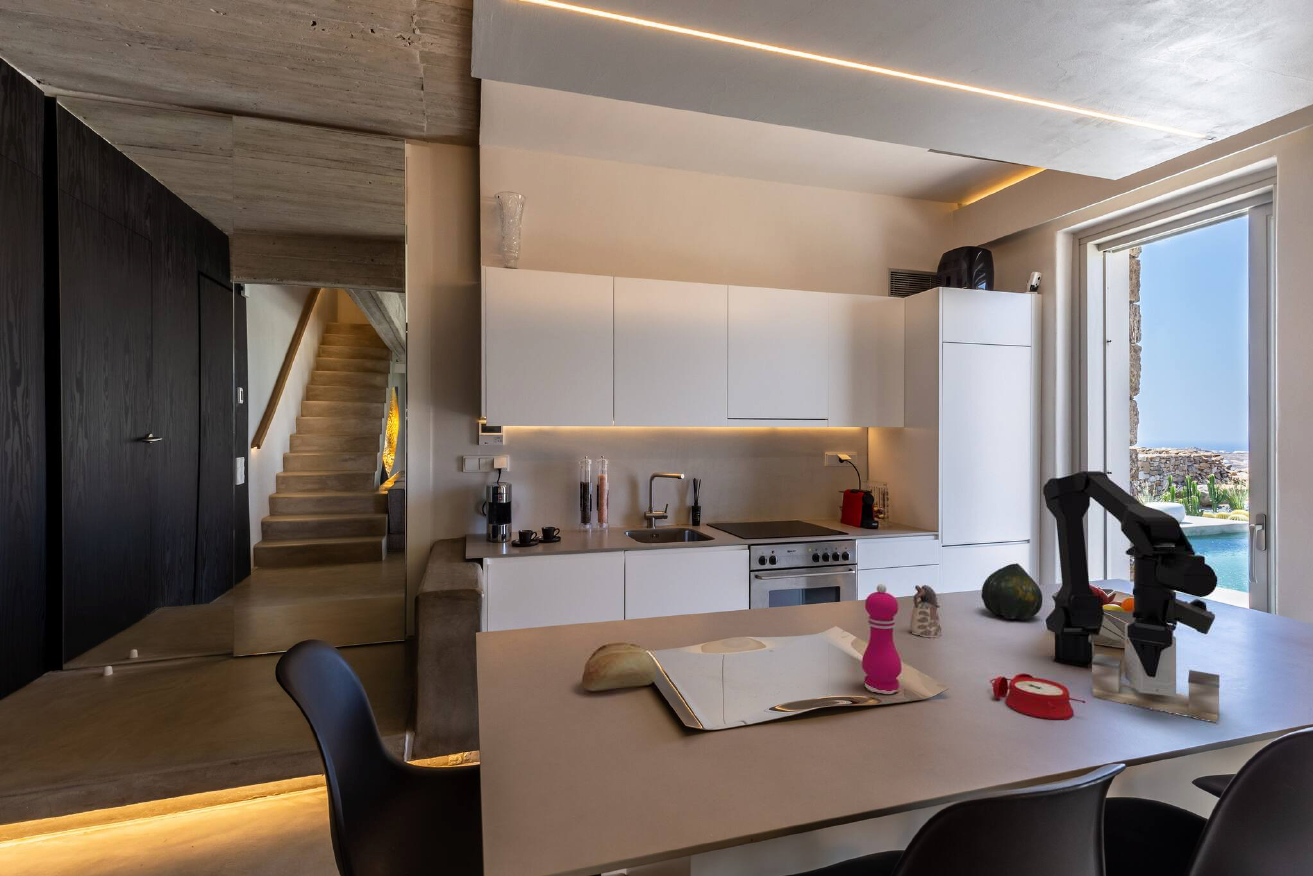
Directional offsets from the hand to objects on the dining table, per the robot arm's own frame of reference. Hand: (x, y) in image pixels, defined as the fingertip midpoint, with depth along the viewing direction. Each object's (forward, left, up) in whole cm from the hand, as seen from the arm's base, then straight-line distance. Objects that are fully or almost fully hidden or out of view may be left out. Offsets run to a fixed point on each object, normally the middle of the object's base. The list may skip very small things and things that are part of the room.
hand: (1153, 669), depth 119 cm
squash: (-34, +49, -6) cm, 60 cm away
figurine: (-46, +17, -6) cm, 49 cm away
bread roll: (-79, -58, -6) cm, 98 cm away
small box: (-1, 0, -4) cm, 4 cm away
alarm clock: (-17, -16, -6) cm, 24 cm away
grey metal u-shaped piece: (0, 0, -6) cm, 6 cm away
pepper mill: (-40, -26, -6) cm, 48 cm away
